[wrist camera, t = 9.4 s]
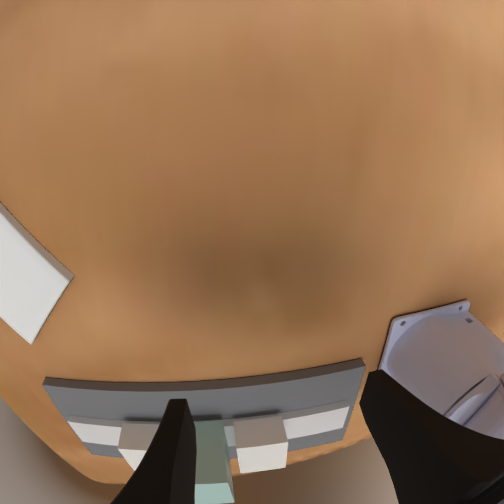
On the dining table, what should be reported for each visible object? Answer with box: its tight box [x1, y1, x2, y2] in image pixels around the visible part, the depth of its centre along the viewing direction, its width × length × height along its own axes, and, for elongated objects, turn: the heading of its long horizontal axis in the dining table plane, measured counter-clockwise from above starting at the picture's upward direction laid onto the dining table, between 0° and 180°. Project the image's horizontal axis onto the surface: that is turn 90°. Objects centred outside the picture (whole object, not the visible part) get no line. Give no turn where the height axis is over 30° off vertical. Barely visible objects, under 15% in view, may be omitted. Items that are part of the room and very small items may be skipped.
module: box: [194, 420, 234, 504], centre depth 20 cm, size 4×5×6 cm
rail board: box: [42, 359, 366, 473], centre depth 22 cm, size 28×12×5 cm, turn 92°
